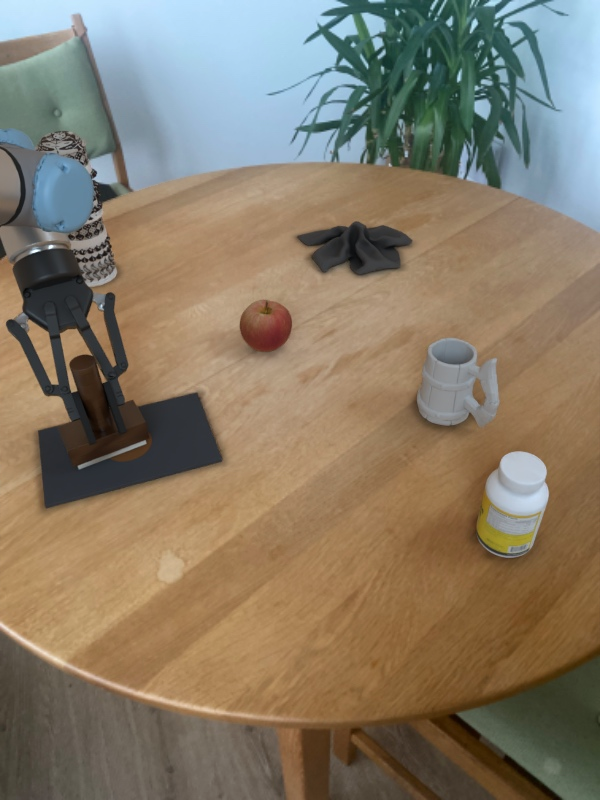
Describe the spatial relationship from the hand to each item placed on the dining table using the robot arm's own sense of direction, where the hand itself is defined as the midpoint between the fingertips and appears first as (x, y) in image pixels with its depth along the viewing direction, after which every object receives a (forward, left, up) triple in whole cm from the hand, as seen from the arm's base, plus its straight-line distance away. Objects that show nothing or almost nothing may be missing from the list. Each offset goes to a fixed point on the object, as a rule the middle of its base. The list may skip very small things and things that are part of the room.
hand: (108, 438), depth 82 cm
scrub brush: (0, +4, -5) cm, 6 cm away
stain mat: (+2, +4, -6) cm, 7 cm away
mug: (+45, -6, -6) cm, 46 cm away
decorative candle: (+3, +51, -6) cm, 51 cm away
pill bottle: (+40, -26, -6) cm, 48 cm away
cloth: (+50, +42, -6) cm, 65 cm away
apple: (+26, +19, -6) cm, 32 cm away
